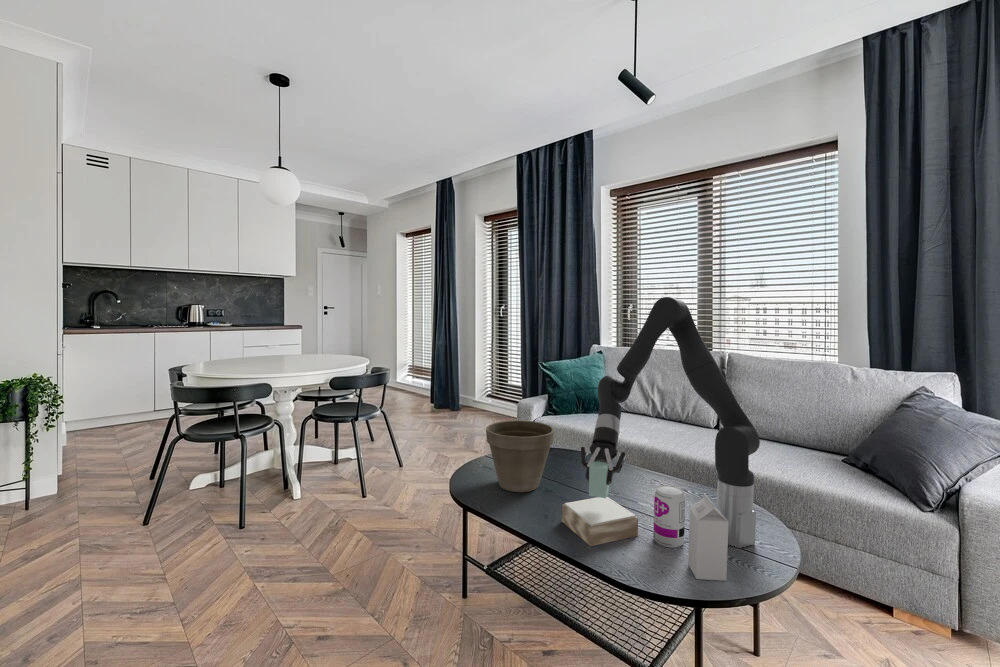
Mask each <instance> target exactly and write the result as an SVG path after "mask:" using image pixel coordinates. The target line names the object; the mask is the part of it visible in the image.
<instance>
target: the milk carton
mask: <svg viewBox="0 0 1000 667" xmlns="http://www.w3.org/2000/svg"><path fill="white" fill-rule="evenodd" d="M688 522H689V523H688V524H689V525H688V526H689V527H688V528H689V529H688V559H687V560H688V562H687V564H688V566H689V568H690V570H691V572H692V573H693V574H692V575H693V576H694V577H695V579H696V580H706V581H722V582H723V581H725V582H726V581H727V574H728V573H727V571H728V569H727V568H728V546H729V545H728V521H727V519H726V518H725V517H724V516H723V515H722V513H721V512H720V511H719V510H718V509H717V506H715V504H714V503H713V501H712V500H711V499H710V497H709V496H707V494H706V493H703V497H702V498H701V499H700V500H698V501H697V502H696V503H694V504H693V505H691V507H689V521H688Z"/></svg>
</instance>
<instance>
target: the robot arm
mask: <svg viewBox="0 0 1000 667" xmlns="http://www.w3.org/2000/svg"><path fill="white" fill-rule="evenodd" d="M667 329H668V330H669V331H670V333H671V334H672V337H673V338H674V340H675V341H676V344H677V346H678V350H679V355H680V361H681V364H682V368H683V371H684V374H685V375H686V377H687V379H688V381H689V383H690V385H691V387H692V388H693V390H694V392H695V393H696V394H698V396H699V397H700V398H701V399H702V400H703V401H705V403H707V405H708V406H709V407H711V408H712V410H713V411H714V412H715V414H716V415H717V418H718V419H719V421H720V423H721V425H722V428H720V429H719V430H718V432H717V433H716V436H715V439H714V466H715V469H716V472H717V489H716V490H717V491H716V493H717V494H716V495H717V496H716V508H717V509H718V510H719V511H720V512H721V513H722V515H723V516H724V517H725V518H726V519H727V521H728V546H730V545H731V547H734V546H735V547H734V548H737V549H739V548H740V549H743V548H742V547H744V548H747V547H746V546H748V547H750V546H749V545H752V544H755V545H756V527H757V526H756V524H757V523H756V522H757V512H756V511H755V510H754V491H755V490H754V489H755V474H754V472H752V470H750V468H749V465H750V464H749V462H750V460H749V458H750V457H749V456H750V455H753V454H755V453H756V452H757V451H758V450H759V448H760V445H761V439H760V436H759V434H758V432H757V430H756V428H755V426H754V425H753V423H752V422H751V420H750V419H749V418H748V416H747V414H746V413H745V411H743V409H742V407H741V406H740V404H739V402H738V401H737V399H736V397H735V395H734V393H733V391H732V389H731V387H730V386H729V384H728V382H727V381H726V378H725V377H724V375H723V373H722V370H721V369H720V366H719V365H718V363H717V361H716V360H715V358H714V356H713V355H712V353H711V351H710V349H709V348H708V346H707V344H706V343H705V341H704V340H703V338H702V336H701V335H700V333H699V330H698V328H697V326H696V323H695V321H694V319H693V316H692V313H691V311H690V309H689V306H688V305H687V304H686V303H685V302H684V301H683V300H682V299H679V298H675V297H673V296H663V297H661V298H659V299H657V300H656V301H655V303H654V304H653V306H652V308H651V310H650V312H649V314H648V315H647V318H646V320H645V322H644V324H643V326H642V327H641V330H639V331H640V332H639V333H638V335H637V337H636V338H635V340H634V341H633V343H632V345H631V346H630V348H629V349H628V350H627V352H626V353H625V355H624V356H623V357H622V359H621V361H620V362H619V363H618V365H617V367H616V370H617V373H618V374H619V375H621V377H623V378H624V379H623V381H622V380H620V379H618V378H616V377H613V376H611V375H605V376H603V377H601V379H600V381H599V382H598V384H597V385H598V386H597V394H598V403H599V410H598V414H597V419H596V421H595V426H594V432H593V436H592V443H591V445H590V446H589V447H586V448H585V447H584V446H581V447H580V456H581V458H580V459H581V460H580V461H581V466H582V468H583V469H585V470H586V472H585V479H586V481H587V483H589V466H590V464H591V463H592V462H594V461H600V462H607V463H608V464H609V471H608V473H607V480H606V484H607V485H609V486H610V484H612V482H613V477H614V474H620V473H621V470H622V468H623V465H624V463H625V461H626V460H627V456H626V452H624V451H622V452H621V451H619V450H618V441H619V435H620V429H621V426H620V424H621V419H622V418H621V417H622V411H623V410H622V406H621V403H624V402H626V401H627V400H628V398H629V397H630V394H631V393H632V389H633V385H634V383H635V381H636V380H637V378H638V376H639V375H640V373H641V372H642V370H643V369H644V368H645V366H646V365H647V363H648V362H649V360H650V357H651V355H652V352H653V350H654V348H655V346H656V343H657V341H659V339H660V337H661V336H662V335H663V334H664V333H665V331H666V330H667ZM589 453H590V454H591V457H590V458H589V461H588V462H587V456H589ZM616 457H617V459H618V460H617V461H616V465H615V466H613V463H612V460H613V459H615V458H616ZM752 546H753V545H752Z"/></svg>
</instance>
